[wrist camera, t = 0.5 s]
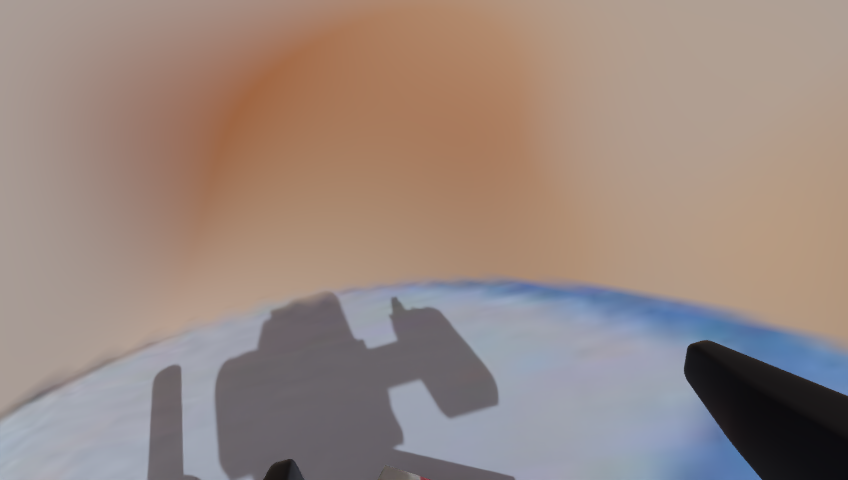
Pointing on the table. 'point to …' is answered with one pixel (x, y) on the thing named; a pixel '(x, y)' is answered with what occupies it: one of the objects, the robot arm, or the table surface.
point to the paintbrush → (398, 475)
